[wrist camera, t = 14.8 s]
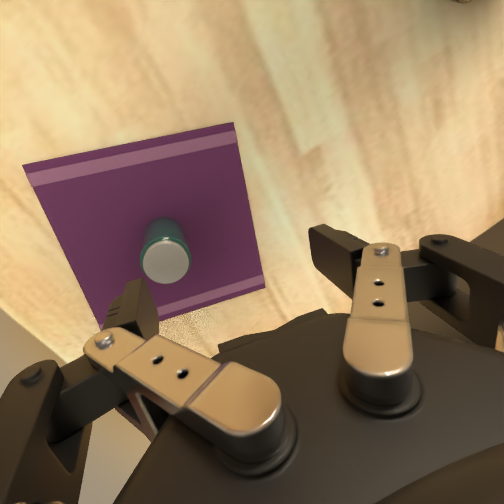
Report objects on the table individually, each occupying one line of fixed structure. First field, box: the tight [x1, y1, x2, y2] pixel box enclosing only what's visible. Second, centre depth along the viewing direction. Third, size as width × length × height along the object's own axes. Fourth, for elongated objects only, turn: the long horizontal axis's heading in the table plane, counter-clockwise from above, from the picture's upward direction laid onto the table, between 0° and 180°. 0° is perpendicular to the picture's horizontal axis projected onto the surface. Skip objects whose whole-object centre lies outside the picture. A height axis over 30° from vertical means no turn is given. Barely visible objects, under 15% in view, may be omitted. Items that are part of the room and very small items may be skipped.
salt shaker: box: [140, 217, 191, 284], centre depth 29 cm, size 4×4×8 cm
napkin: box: [22, 122, 265, 331], centre depth 33 cm, size 20×20×1 cm
